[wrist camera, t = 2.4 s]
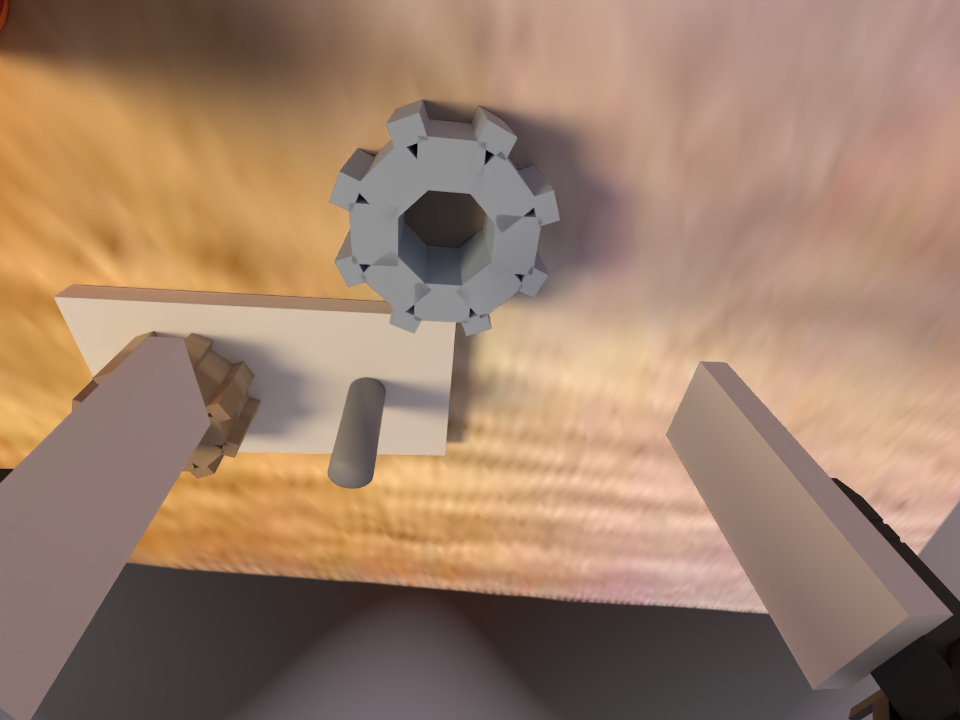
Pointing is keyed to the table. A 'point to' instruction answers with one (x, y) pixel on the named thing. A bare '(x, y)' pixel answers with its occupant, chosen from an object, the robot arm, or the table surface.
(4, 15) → the paper cup
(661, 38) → the table surface
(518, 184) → the gray gear
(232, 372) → the beech gear
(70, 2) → the table surface
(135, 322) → the gear board
